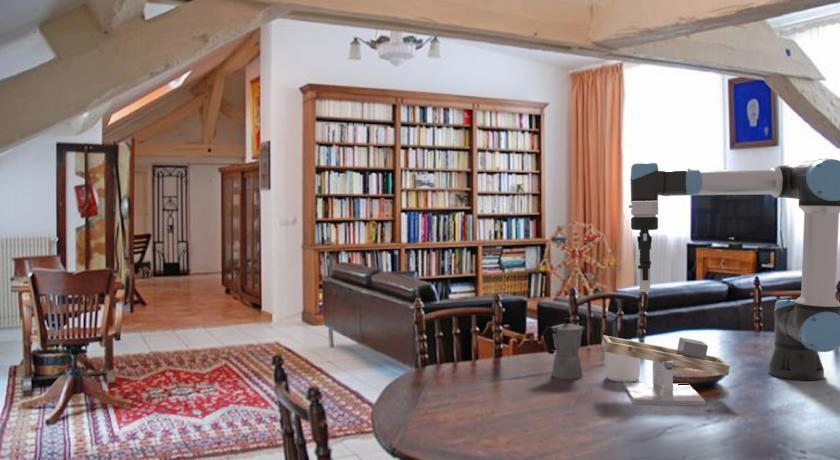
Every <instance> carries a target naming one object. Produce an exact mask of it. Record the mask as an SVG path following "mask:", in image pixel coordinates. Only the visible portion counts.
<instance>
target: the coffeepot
mask: <svg viewBox="0 0 840 460" xmlns="http://www.w3.org/2000/svg"><path fill="white" fill-rule="evenodd" d="M563 320H564V323H561V324H557V325H553V326H547V327H546V328H545V329H544V331H543V332H542V337H543V341H544V343H545V347H546V350H547V354H549V355H553V354H554V358H553V359H554V360H553V364H552V372H551V376H553V378H556V379H559V380H560V379H561V380H578V379H580V378H582V377H583V370H582V364H581V360H580V356H579V350H580V348H581V342H582V336H583V331H584V330H585V328H586V327H585V326H582V325H577V324H572V323H570V318H569V317H564V319H563ZM549 334H552V338H553V344H554V348H555V350H552V344H551V342H550V337H549Z"/></svg>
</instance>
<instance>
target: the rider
mask: <svg viewBox="0 0 840 460" xmlns="http://www.w3.org/2000/svg"><path fill="white" fill-rule="evenodd" d="M708 347H709V345H708V344H706V343H705V342H704V341H702V340H697V339H691V338H686V337H681V336H680V337H679V340H678V345H677V348H676V349H677V354H676V355H681V356H687V357H692V358H697V359H702V360H705V358H706V355H707V353H708Z"/></svg>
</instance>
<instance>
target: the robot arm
mask: <svg viewBox="0 0 840 460" xmlns="http://www.w3.org/2000/svg"><path fill="white" fill-rule="evenodd" d="M630 169H631V170H630V178H629V180H630V200H631V201H630V204H628V208H629V209H630V214H631V218H630V228H631V230H633V231H640V232H639V233H638V234H639V235H637V243H638V244H637V247H638V250H639V265H637V269H638V270H639V288H640V289H639V291H640V293H651V264H652V261H651V255H650V254H651V253H650V252H651V250H652V241H653V238H652V237H653V236H652V235H650V234H651V233H650V231H657V230H658V229H659V217H658V216H657V215H659V196H663V197H670V196H671V197H673V196H675V197H676V196H718V195H719V196H720V195H721V196H722V195H723V196H724V195H726V196H727V195H728V196H729V195H730V196H737V195H739V196H740V195H741V196H742V195H745V196H746V195H771V196H772V198H782V199H783V198H786V199H794V200H798V207H799V208H800V210H802V211H803V214H804V216H803V217H804V218H803V234H802V235H803V237H802V238H803V240H802V261H801V262H802V268H801V291H800V296H799V297H798V298H796V299H778V300H776V302H775V305H774V310H773V312H774V348H773V350H772V354H771V357H770V359H769V361H768V365H767V373H768V374H770V375H772V376H774V377H778V378H782V379H783V378H784V379H787V380H795V381H797V380H798V381H817V380H822V379H824V378H825V368H824V365H823V364H822V360H821V357H820V355H819V353H820V352H821V353H828V352H829V353H830V352H832V351H835V350H837V349H839V348H840V301H838V300H837V298H836V288H837V267H838V266H837V265H838V244H839V243H838V241H839V240H838V239H839V221H840V220H839V219H840V218H839V217H840V216H839V215H840V160H838V159H836V158H835V159H834V158H820V159H815V160H806V161H802V162H798V163H791V164H786V165H773V166H772V167H771V168H768V169H765V168H764V169H763V168H762V169H718V170H717V169H715V170H713V169H712V170H709V169H708V170H699V169H697V168H674V169H659V165H658V163H656V162H638V163H637V162H636V163H633V164H632V165H631V168H630Z"/></svg>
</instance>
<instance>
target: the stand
mask: <svg viewBox="0 0 840 460" xmlns="http://www.w3.org/2000/svg"><path fill="white" fill-rule="evenodd" d="M678 384H679V383H674V365H673V361H672V360H662V363H661V362H656V361H652V382H623V388H624V390H625V392H627V394H628V397H629V398H630V399H631V401H632V402H633V404H634V405H656V406H657V405H662V406H694V407H695V406H697V407H698V406H699V407H700V406H701V407H702V406H703V407H706V406H707V405H706V400H705V399H704V397H702V396H701V395H700V394H699V393H698V392H697V391H696V390H695V389H694V388H693V387H692V386H691V385H690V384H689V385H678Z"/></svg>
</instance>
